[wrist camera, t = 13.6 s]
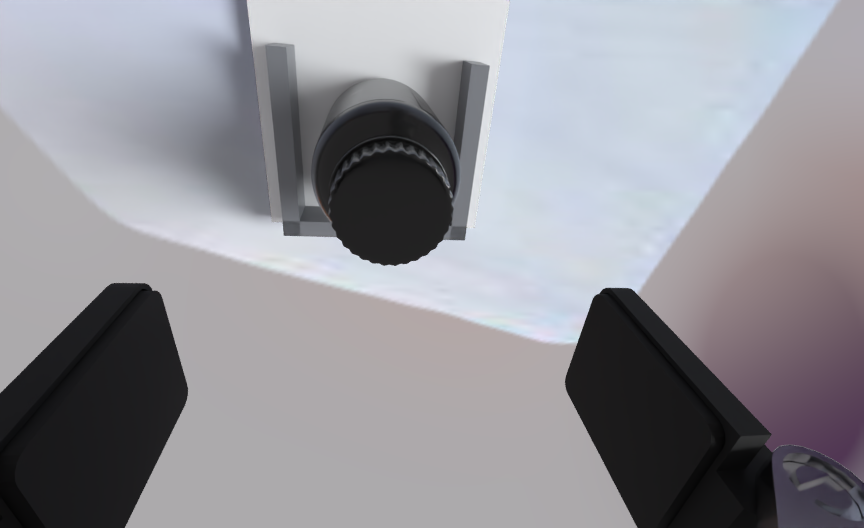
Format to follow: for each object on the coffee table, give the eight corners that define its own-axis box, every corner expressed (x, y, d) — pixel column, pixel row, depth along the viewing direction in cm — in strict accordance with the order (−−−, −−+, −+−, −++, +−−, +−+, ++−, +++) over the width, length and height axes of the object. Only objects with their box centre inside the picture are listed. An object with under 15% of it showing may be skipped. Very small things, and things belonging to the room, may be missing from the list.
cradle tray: (245, -55, 21) (224, -67, 18) (508, -22, 23) (528, -28, 20) (274, 215, 28) (263, 238, 25) (471, 222, 31) (482, 244, 28)
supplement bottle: (342, 197, 27) (324, 302, 17) (312, 87, 24) (266, 137, 14) (444, 178, 28) (486, 270, 17) (428, 67, 24) (470, 100, 14)
